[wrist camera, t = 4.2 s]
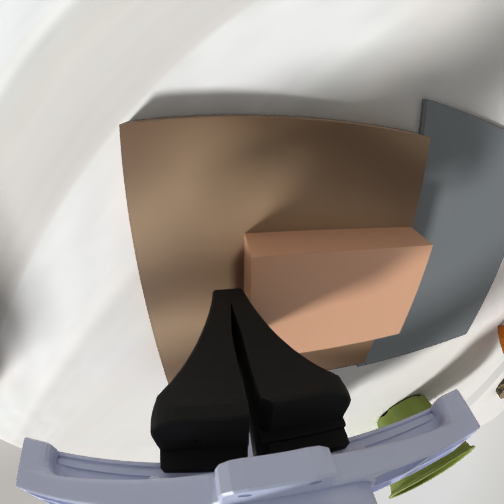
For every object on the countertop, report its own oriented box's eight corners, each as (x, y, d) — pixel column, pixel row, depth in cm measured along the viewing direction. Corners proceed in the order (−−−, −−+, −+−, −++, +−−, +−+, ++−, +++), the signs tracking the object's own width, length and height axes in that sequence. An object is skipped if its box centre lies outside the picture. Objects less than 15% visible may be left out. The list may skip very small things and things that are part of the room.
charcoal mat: (464, 331, 24) (466, 333, 24) (355, 363, 22) (357, 366, 22) (530, 143, 14) (533, 144, 14) (423, 98, 12) (427, 99, 12)
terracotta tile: (384, 312, 17) (399, 333, 16) (243, 331, 16) (248, 359, 14) (411, 227, 14) (433, 245, 13) (244, 233, 13) (251, 257, 11)
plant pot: (445, 389, 32) (479, 447, 22) (381, 434, 35) (406, 492, 26) (425, 372, 27) (470, 448, 17) (344, 428, 30) (373, 504, 20)
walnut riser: (356, 348, 21) (364, 362, 20) (170, 370, 19) (169, 387, 18) (412, 131, 13) (430, 137, 12) (128, 121, 11) (119, 124, 10)
